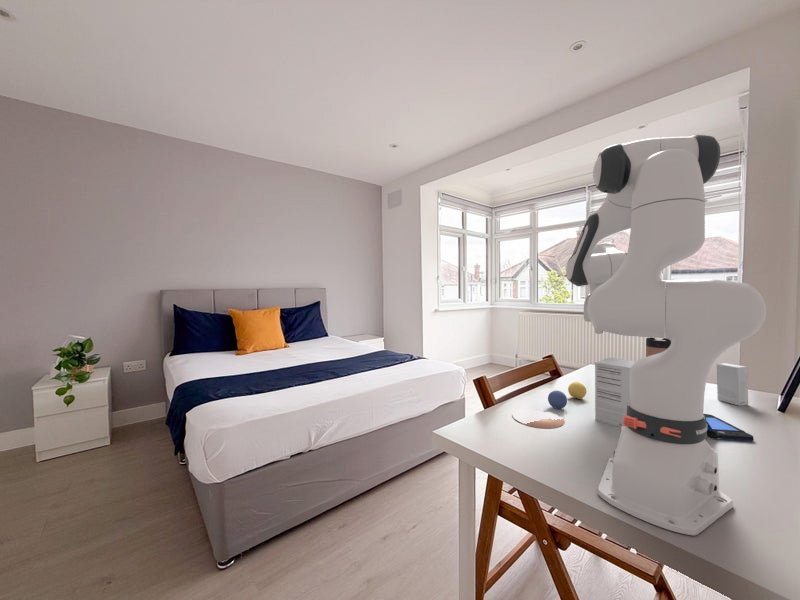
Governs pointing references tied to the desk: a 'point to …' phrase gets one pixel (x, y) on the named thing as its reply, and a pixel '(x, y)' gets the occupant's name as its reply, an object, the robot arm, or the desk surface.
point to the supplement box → (612, 390)
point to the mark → (547, 423)
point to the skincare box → (732, 383)
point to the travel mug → (656, 346)
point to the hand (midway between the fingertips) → (607, 331)
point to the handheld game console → (724, 430)
